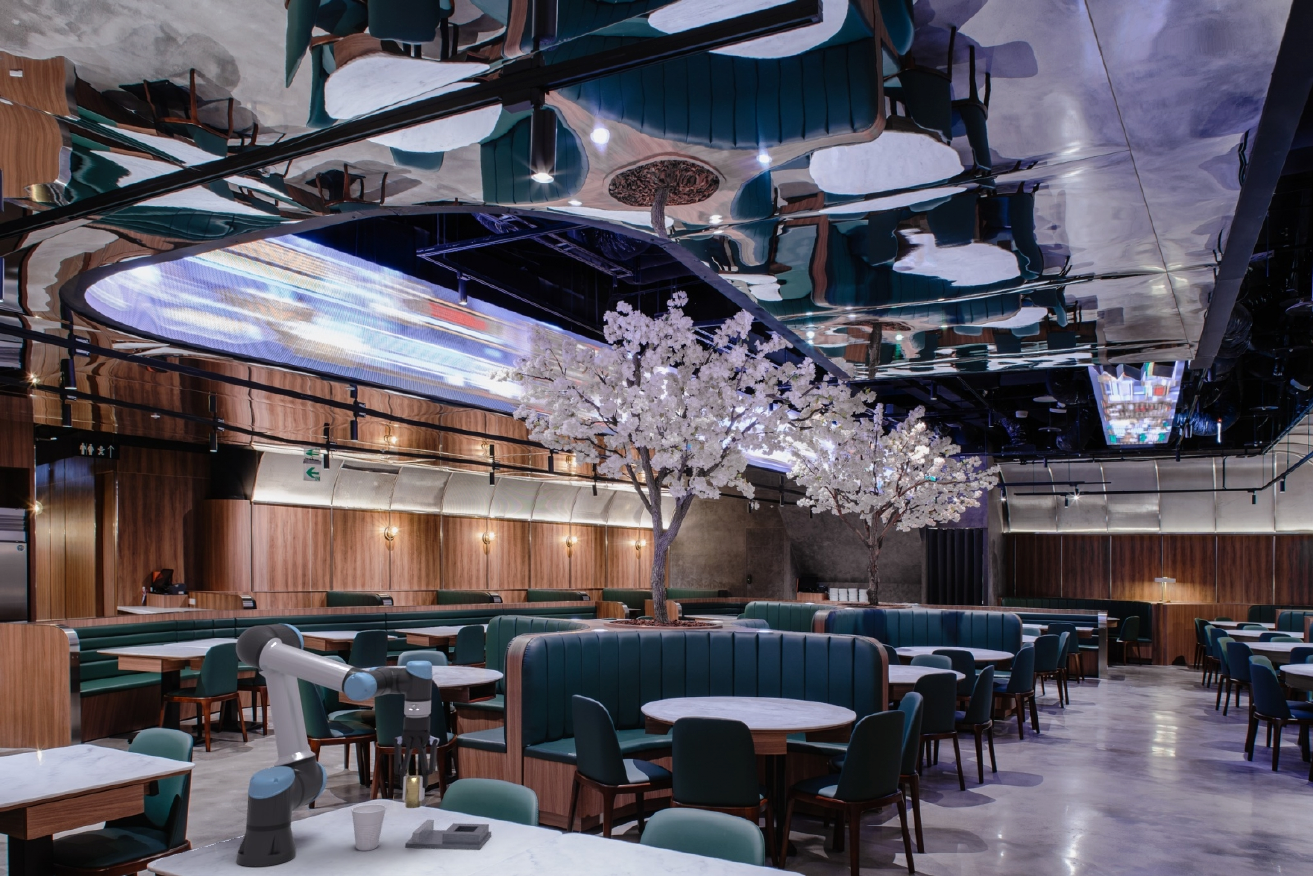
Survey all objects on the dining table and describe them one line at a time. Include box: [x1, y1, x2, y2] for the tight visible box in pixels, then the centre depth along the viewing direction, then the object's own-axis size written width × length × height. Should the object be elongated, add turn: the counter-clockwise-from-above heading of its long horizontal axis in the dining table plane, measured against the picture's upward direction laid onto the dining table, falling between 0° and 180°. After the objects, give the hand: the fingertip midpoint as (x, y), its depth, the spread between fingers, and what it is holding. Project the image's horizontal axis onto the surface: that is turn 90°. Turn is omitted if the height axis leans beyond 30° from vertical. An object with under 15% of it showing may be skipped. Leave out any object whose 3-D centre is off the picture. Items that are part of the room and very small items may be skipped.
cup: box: [351, 803, 388, 852], centre depth 260 cm, size 10×10×11 cm
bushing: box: [404, 775, 422, 809], centre depth 257 cm, size 4×4×8 cm
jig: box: [404, 819, 492, 851], centre depth 266 cm, size 22×14×4 cm, turn 87°
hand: (413, 799), depth 257 cm, fingers closed on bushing, 4 cm apart
